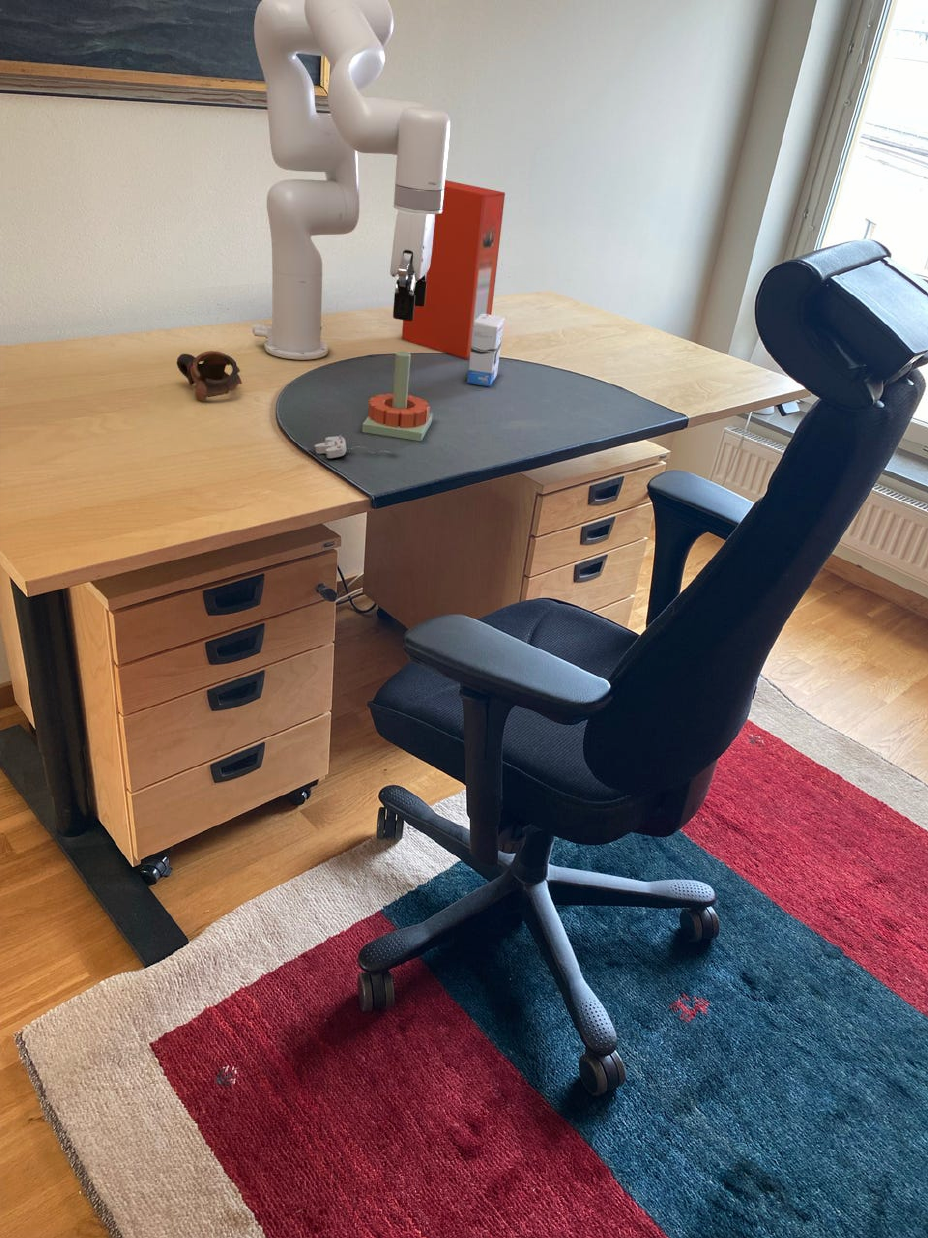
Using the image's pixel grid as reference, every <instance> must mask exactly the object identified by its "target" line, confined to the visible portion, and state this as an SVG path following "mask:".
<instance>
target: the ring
mask: <svg viewBox="0 0 928 1238" xmlns="http://www.w3.org/2000/svg"><path fill="white" fill-rule="evenodd" d="M392 402H393V392H392V393H385V394H383V393H381V394H377V395H373V396H372V397H370V399H369V400H368V408H367V409H368V411H367V417H368V416H369V417H370V419H371V420H373V421H374V422H377V423H379V424H382V425H383V424H385V426H390V427H396V428H398V426H400V427H401V428H413V426H414V427H418V426H422V425H424V423H425V424H426V423H427V421H428V418H429V413H430V404H429V403H428V402H427V400H424V399H423V398H421V397H417V396H413V395H412V394H407V407H406V409H396V408H392Z"/></svg>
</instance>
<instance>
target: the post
mask: <svg viewBox="0 0 928 1238" xmlns="http://www.w3.org/2000/svg"><path fill="white" fill-rule="evenodd" d="M410 367H411V353H410V352H408V351H396V352H395V359H394V371H393V372H394V373H393V390H392V393H393V402H392V408H396V409H406V407H407V395H409V394H408V393H409V382H410V379H409V378H410ZM432 422H433V413H432V412H429V418H428V421H427V423H426V424H425V423H424V425H422V426H418V427H414V426H413V428H401V427H400V426H398V428H396V427H390V426H385V424H383V425H382V424H379V423H377V422H374V421H373V420H371V419H370V417H369V416H368V415H367V417H366V419H365V420H364V421H363V423H362V425H361V426H362V427H361V428H362V429H361V432H362V433H366V434H370V435H378V436H384V437H390V438H397V439H402V440H410V441H416V442H422V441H423V439H424V437H425V435H426V433H427V431H428V430H429V428H430V427H431V424H432Z"/></svg>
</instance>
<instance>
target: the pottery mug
mask: <svg viewBox="0 0 928 1238" xmlns="http://www.w3.org/2000/svg"><path fill="white" fill-rule="evenodd" d="M201 362H202V363H201ZM227 366H231V369H232V372H231V373H228V372H226V367H227ZM176 367H177V369H178V370H179V371H180V373H181V374H182V375H183V376H184V377H185V378H186V379H187V381H188V384H189V386H193V385H196V389H195V392H194V394H195V398H196V399H198V400H199V401H201V402H205V400H206V399H207V398H214V397H217V396H222V395H227V394H229V393H230V391H233V390H235V388H236V387H237V386H238V385H242V384H243V382H242V379H241V377H240V375H239V373H240V372H241V370H240V368H239V366H237V362H236V361H235V359H233V358H232V357H231V356H230V355H229V354H226V353H224V352H221V351H214V350H208V351H204V352H202V353H200V354H197V356H194V355H192V354H189V353H181V354H180V355H179V356H178V357H177V359H176Z"/></svg>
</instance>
